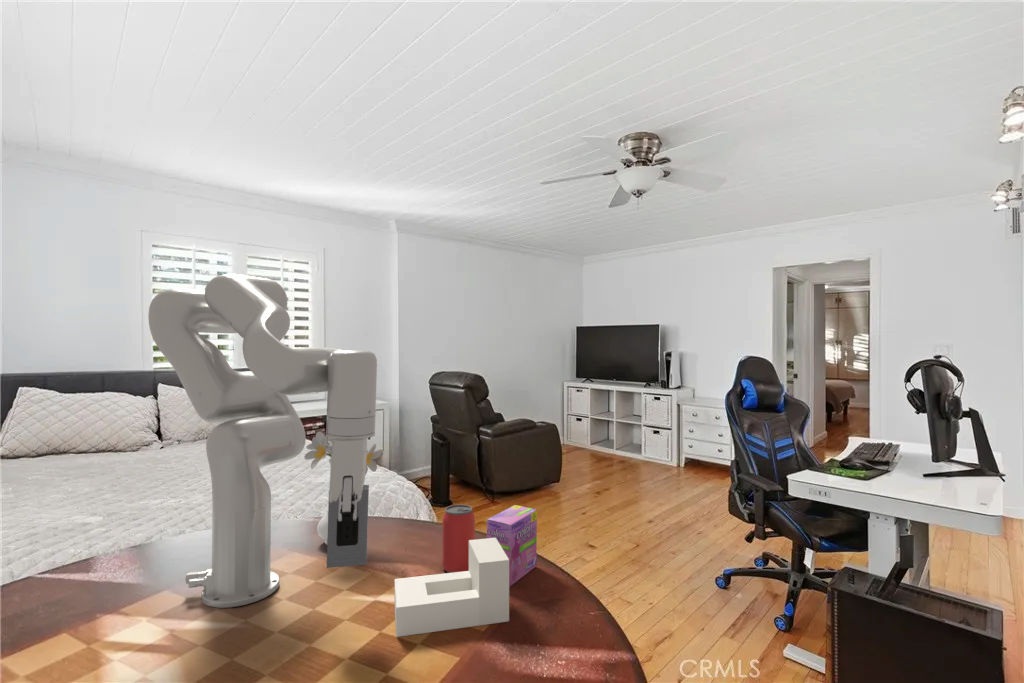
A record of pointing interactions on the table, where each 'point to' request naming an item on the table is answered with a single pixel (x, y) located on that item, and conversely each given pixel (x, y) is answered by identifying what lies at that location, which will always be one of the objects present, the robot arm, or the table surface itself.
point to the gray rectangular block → (351, 553)
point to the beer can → (457, 537)
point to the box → (516, 538)
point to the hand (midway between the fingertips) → (347, 539)
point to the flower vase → (323, 448)
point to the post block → (456, 594)
